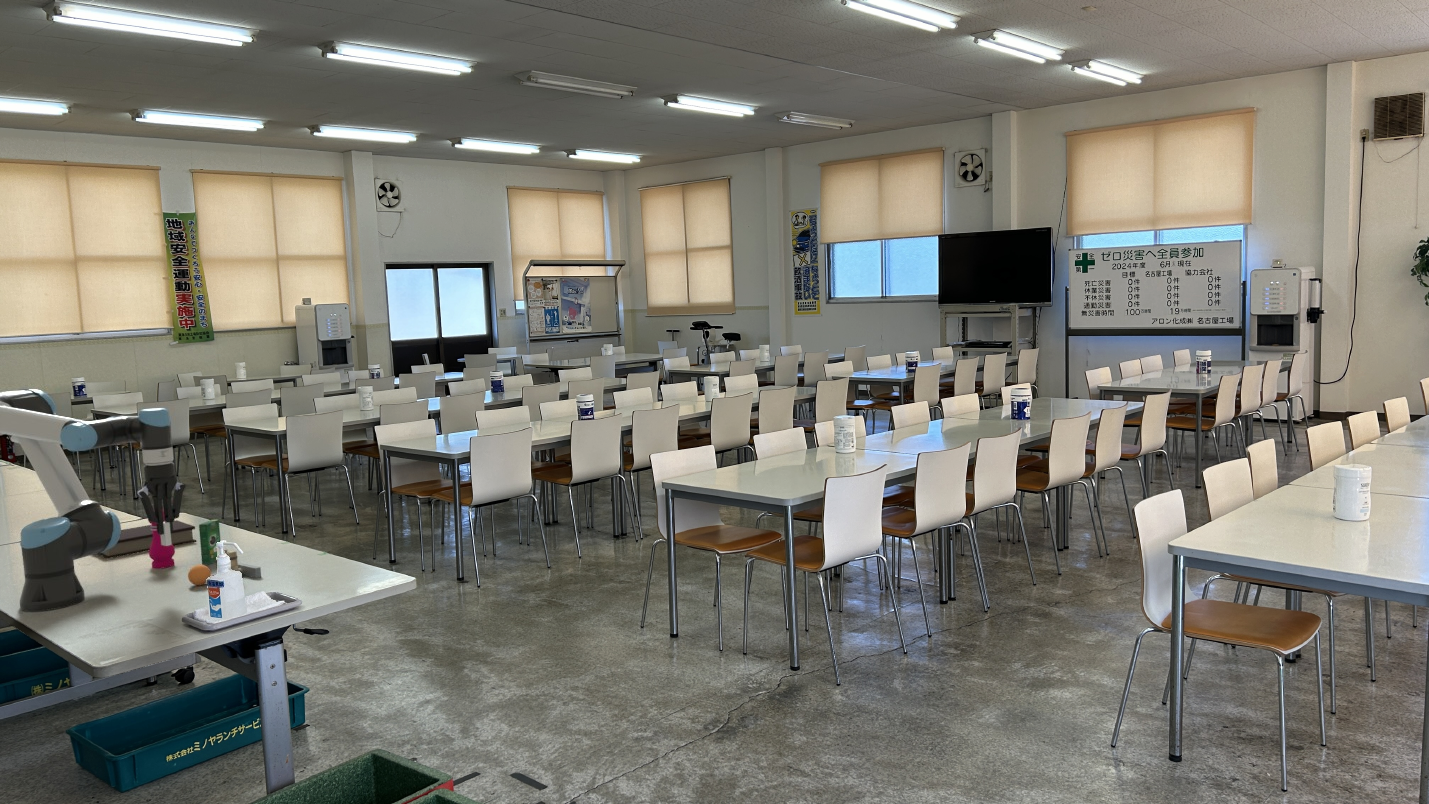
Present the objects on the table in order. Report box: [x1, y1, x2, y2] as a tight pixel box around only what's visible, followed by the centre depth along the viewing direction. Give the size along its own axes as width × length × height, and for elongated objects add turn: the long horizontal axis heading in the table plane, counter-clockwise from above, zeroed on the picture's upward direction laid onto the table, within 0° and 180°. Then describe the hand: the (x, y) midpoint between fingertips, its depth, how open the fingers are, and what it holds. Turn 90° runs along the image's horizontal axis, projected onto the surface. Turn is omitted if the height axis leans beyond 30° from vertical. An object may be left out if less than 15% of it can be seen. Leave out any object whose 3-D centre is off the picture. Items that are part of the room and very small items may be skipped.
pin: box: [228, 550, 239, 571], centre depth 296 cm, size 2×2×8 cm
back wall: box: [237, 561, 262, 579], centre depth 301 cm, size 2×14×3 cm, turn 56°
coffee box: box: [198, 519, 221, 565], centre depth 319 cm, size 8×3×13 cm, turn 179°
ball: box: [187, 564, 212, 586], centre depth 291 cm, size 6×6×6 cm
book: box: [97, 519, 197, 559], centre depth 345 cm, size 28×20×6 cm
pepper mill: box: [147, 509, 176, 570], centre depth 314 cm, size 7×7×20 cm
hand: (166, 544), depth 282 cm, fingers closed
